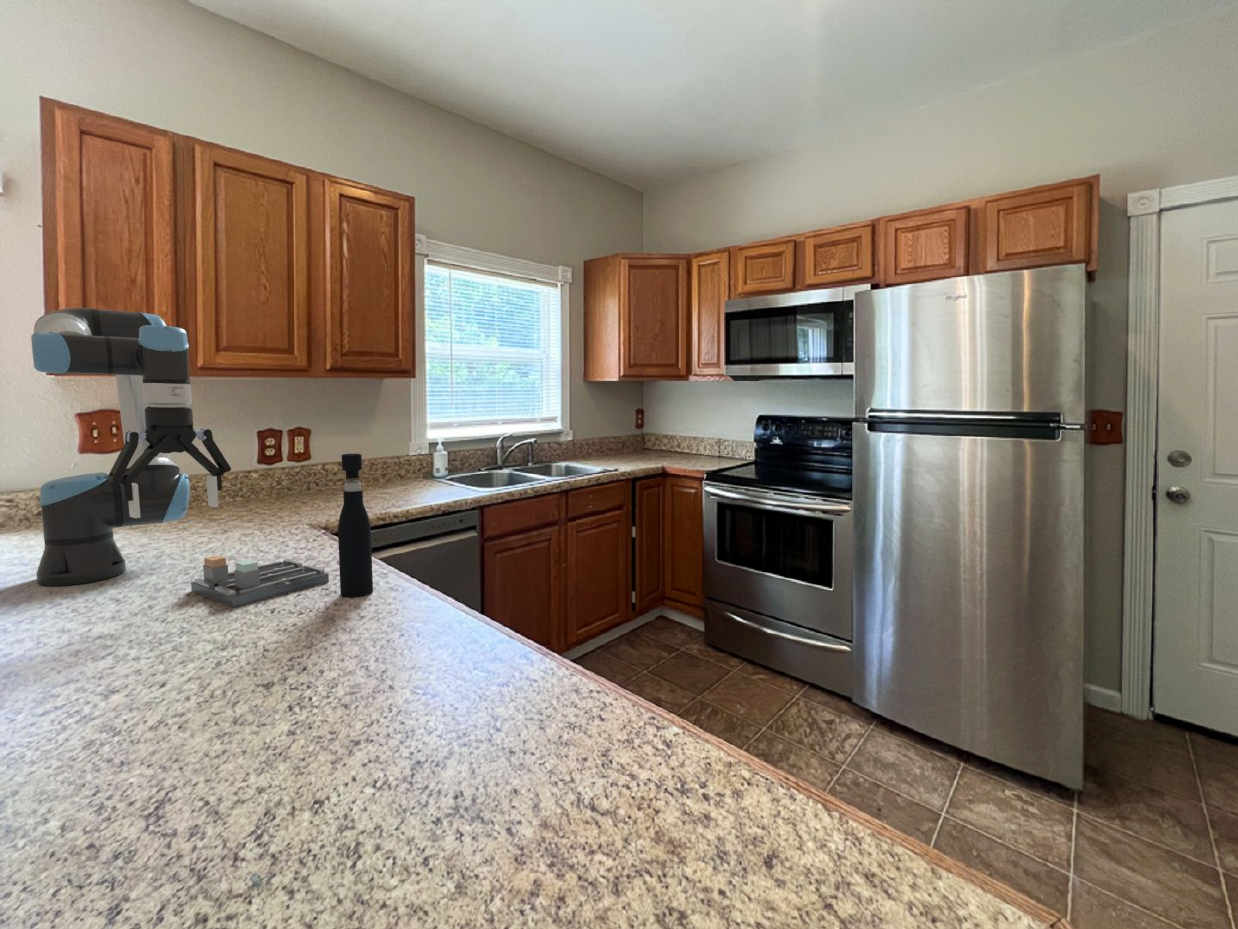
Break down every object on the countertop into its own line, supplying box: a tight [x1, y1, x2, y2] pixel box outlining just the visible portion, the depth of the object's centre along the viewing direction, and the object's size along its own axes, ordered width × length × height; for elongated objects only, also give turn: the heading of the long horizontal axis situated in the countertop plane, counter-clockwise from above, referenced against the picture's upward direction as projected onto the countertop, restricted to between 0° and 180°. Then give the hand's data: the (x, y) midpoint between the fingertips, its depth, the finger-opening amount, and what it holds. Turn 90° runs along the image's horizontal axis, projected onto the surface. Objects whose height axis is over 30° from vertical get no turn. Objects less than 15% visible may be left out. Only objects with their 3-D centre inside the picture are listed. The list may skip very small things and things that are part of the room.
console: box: [190, 558, 330, 609], centre depth 129 cm, size 18×20×3 cm
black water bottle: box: [337, 453, 374, 599], centre depth 124 cm, size 6×6×30 cm
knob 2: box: [233, 559, 260, 589], centre depth 122 cm, size 4×3×5 cm
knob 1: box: [202, 554, 229, 585], centre depth 125 cm, size 4×3×5 cm
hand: (176, 511), depth 118 cm, fingers open, 13 cm apart
